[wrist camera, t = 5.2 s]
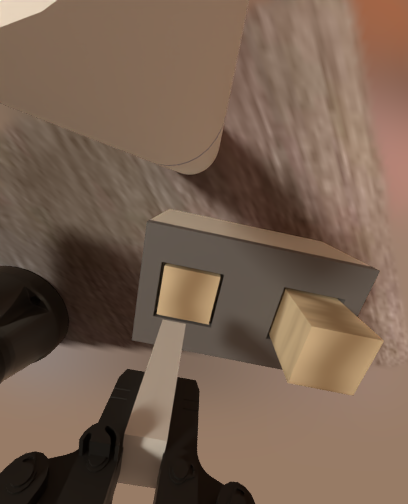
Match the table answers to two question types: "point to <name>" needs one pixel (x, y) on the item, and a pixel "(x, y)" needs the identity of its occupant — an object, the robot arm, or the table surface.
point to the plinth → (241, 281)
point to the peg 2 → (321, 342)
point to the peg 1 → (187, 293)
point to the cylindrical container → (126, 72)
